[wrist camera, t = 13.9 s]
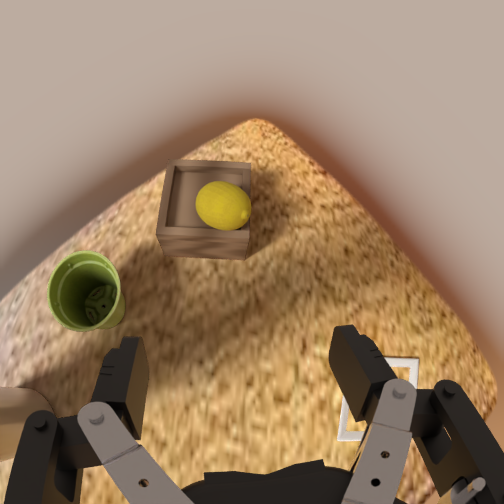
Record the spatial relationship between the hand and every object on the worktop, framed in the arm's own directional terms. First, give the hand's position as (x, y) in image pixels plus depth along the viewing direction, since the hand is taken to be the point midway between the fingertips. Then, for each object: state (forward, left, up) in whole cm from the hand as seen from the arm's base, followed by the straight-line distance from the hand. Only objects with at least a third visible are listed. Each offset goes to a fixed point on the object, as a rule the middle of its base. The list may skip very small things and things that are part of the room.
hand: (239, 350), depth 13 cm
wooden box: (-4, +20, -28) cm, 35 cm away
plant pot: (-17, +7, -28) cm, 33 cm away
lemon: (-4, +20, -21) cm, 29 cm away
